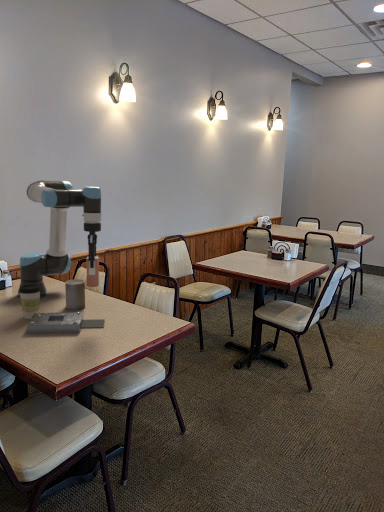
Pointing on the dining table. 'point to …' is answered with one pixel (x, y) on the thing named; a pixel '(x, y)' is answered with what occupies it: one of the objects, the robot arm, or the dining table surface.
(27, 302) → the coffee cup
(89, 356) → the dining table surface
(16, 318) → the dining table surface
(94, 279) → the pink round peg
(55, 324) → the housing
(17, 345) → the dining table surface
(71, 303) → the pillar candle
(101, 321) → the mat
